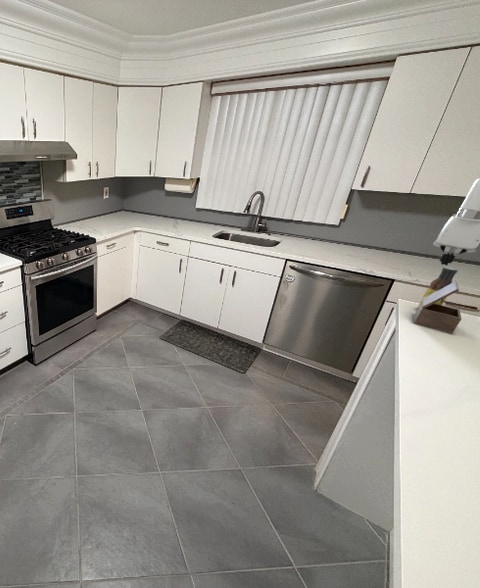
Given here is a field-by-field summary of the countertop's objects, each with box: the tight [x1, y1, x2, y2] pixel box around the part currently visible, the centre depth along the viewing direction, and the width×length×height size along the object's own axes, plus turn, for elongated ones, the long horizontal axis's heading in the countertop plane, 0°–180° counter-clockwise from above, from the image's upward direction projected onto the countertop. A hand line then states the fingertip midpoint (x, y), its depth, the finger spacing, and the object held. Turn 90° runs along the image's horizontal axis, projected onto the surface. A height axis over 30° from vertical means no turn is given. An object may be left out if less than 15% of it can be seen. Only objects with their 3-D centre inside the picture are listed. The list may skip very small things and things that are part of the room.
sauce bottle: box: [416, 266, 459, 311], centre depth 127 cm, size 7×6×20 cm
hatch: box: [421, 281, 460, 308], centre depth 119 cm, size 11×10×1 cm
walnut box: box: [413, 303, 462, 335], centre depth 121 cm, size 10×10×7 cm
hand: (443, 263), depth 116 cm, fingers closed
